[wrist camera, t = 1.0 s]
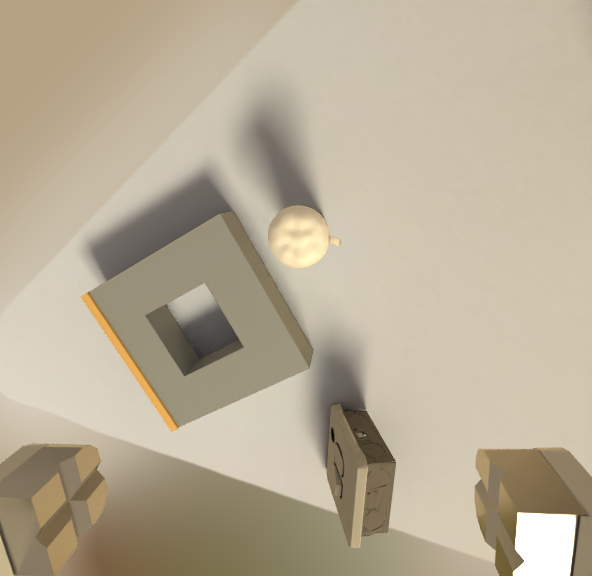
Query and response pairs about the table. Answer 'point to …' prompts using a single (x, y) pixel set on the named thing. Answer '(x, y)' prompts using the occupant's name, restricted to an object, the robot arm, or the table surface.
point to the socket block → (172, 341)
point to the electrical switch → (359, 474)
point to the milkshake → (299, 236)
